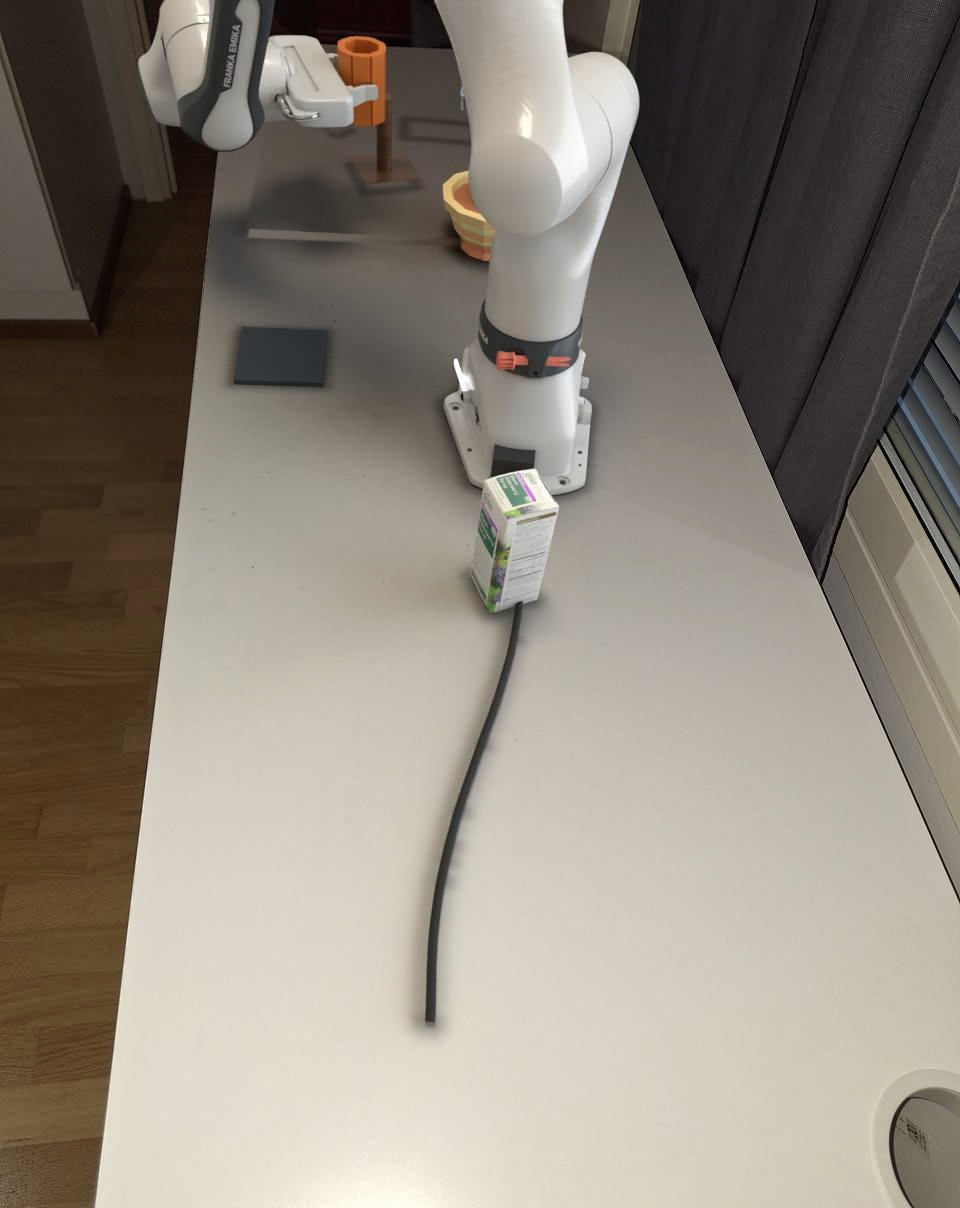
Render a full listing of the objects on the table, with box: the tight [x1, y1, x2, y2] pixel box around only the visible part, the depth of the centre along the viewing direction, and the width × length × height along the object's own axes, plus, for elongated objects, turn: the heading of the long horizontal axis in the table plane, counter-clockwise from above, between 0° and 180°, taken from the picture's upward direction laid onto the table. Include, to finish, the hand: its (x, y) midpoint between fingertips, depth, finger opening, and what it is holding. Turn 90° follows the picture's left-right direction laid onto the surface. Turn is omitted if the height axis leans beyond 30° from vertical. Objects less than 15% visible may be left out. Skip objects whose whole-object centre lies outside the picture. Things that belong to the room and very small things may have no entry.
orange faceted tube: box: [336, 35, 387, 128], centre depth 124 cm, size 6×6×9 cm
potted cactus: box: [442, 86, 497, 262], centre depth 127 cm, size 15×15×25 cm
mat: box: [233, 326, 328, 387], centre depth 116 cm, size 11×11×1 cm
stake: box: [349, 92, 420, 185], centre depth 142 cm, size 9×9×12 cm
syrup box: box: [470, 469, 560, 614], centre depth 91 cm, size 6×6×14 cm
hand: (368, 77), depth 124 cm, fingers closed on orange faceted tube, 7 cm apart
